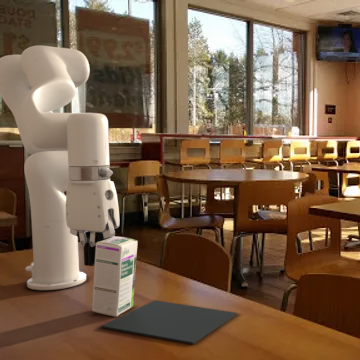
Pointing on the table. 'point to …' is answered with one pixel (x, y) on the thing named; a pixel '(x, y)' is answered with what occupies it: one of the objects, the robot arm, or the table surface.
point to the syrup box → (114, 275)
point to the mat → (171, 321)
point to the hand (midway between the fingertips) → (93, 264)
